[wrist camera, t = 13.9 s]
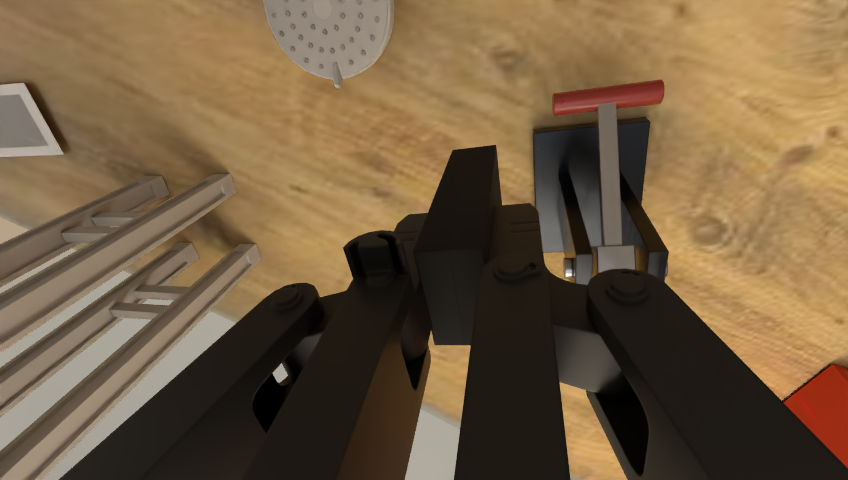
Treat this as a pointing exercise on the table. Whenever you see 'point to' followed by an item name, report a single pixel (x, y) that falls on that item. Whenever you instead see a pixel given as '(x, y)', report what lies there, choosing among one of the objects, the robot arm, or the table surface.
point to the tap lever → (609, 159)
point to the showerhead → (331, 34)
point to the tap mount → (592, 196)
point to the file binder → (825, 409)
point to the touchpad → (23, 125)
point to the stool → (103, 306)
